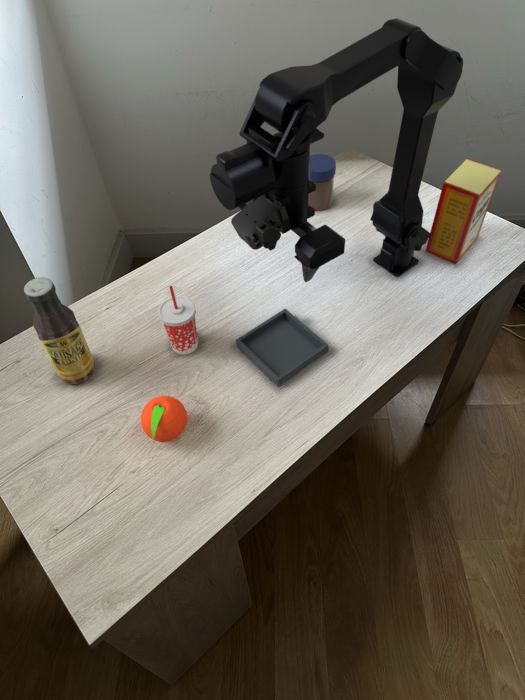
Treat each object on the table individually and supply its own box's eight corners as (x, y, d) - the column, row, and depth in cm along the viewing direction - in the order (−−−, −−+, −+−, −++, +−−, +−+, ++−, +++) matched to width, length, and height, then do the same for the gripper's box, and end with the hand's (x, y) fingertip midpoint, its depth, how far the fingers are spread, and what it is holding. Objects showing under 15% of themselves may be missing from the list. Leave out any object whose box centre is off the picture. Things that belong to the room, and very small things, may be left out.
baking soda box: (447, 226, 108) (468, 156, 95) (477, 239, 105) (502, 168, 92) (425, 251, 103) (443, 180, 91) (455, 264, 100) (479, 193, 88)
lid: (319, 160, 112) (320, 150, 110) (342, 173, 109) (342, 163, 107) (296, 172, 110) (296, 162, 108) (318, 186, 106) (318, 176, 104)
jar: (318, 189, 117) (320, 153, 110) (338, 202, 114) (341, 165, 107) (297, 201, 115) (297, 164, 108) (316, 214, 112) (318, 177, 105)
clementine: (182, 459, 77) (173, 436, 71) (137, 453, 78) (126, 429, 72) (195, 414, 82) (188, 388, 76) (153, 408, 83) (144, 383, 77)
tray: (285, 315, 94) (285, 308, 93) (328, 351, 88) (328, 344, 87) (236, 346, 90) (235, 339, 89) (277, 387, 84) (277, 380, 83)
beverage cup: (179, 326, 93) (164, 268, 82) (209, 337, 92) (198, 279, 81) (161, 351, 90) (143, 294, 79) (191, 362, 88) (177, 306, 77)
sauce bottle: (64, 392, 86) (15, 310, 70) (56, 365, 89) (6, 282, 74) (103, 376, 87) (62, 293, 72) (93, 351, 91) (52, 266, 75)
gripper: (200, 168, 72) (214, 254, 84) (281, 237, 62) (283, 323, 74) (266, 140, 75) (270, 227, 87) (352, 201, 65) (343, 289, 78)
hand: (289, 264), depth 82 cm, fingers open, 9 cm apart
